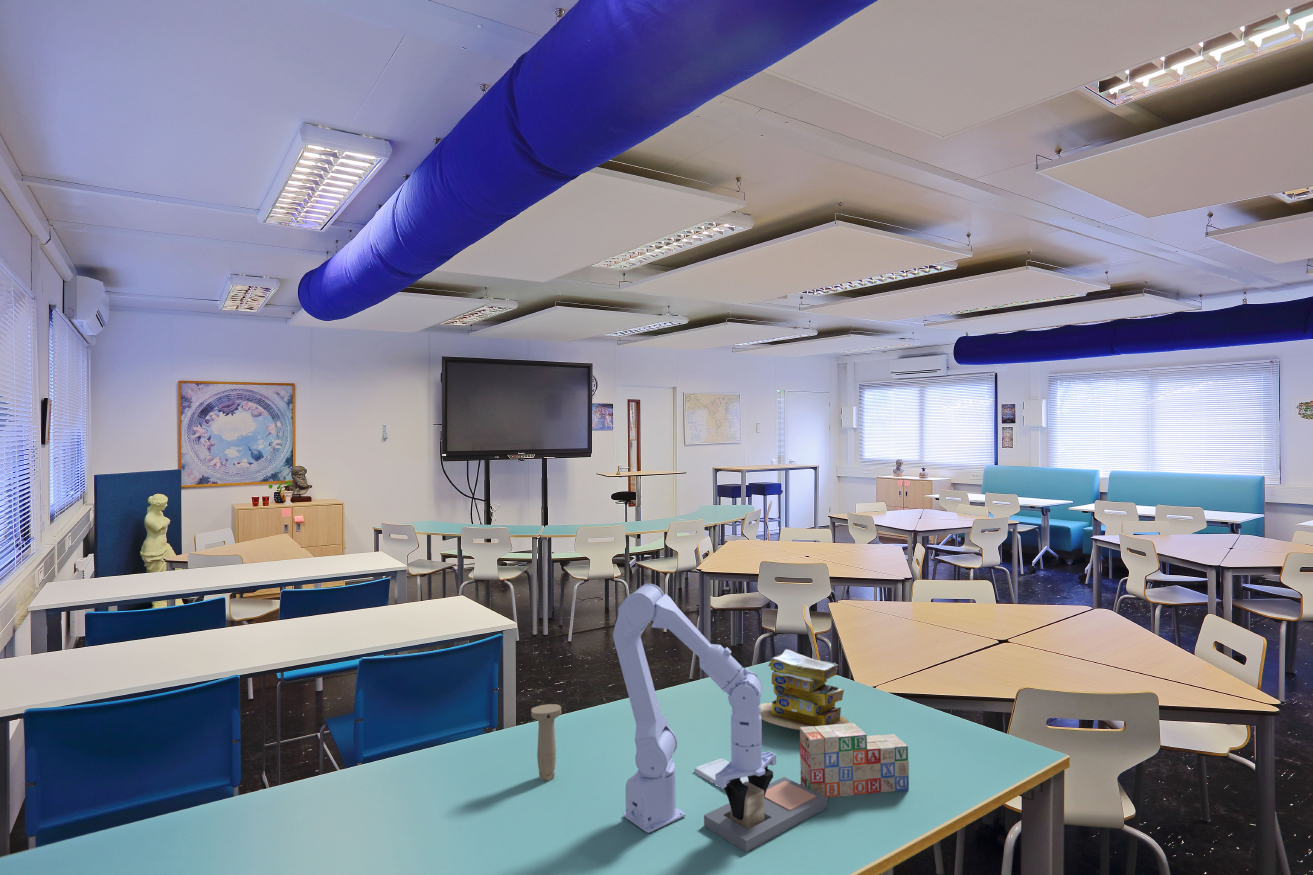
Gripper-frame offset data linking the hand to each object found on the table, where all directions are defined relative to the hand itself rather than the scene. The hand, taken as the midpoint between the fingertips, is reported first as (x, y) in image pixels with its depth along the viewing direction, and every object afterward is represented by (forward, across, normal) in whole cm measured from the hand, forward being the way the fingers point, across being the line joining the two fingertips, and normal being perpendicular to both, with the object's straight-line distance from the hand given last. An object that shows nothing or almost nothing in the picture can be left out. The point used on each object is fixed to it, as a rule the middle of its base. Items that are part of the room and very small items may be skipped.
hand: (747, 812), depth 129 cm
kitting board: (+3, +6, 0) cm, 6 cm away
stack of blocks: (+3, +28, -4) cm, 28 cm away
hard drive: (+3, +10, +16) cm, 19 cm away
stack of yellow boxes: (+3, +45, +24) cm, 51 cm away
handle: (+3, -20, +41) cm, 45 cm away
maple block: (+3, 0, 0) cm, 3 cm away
